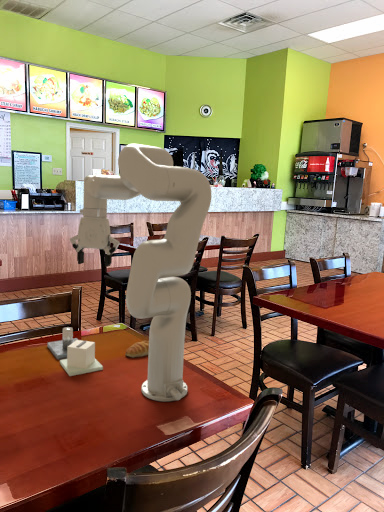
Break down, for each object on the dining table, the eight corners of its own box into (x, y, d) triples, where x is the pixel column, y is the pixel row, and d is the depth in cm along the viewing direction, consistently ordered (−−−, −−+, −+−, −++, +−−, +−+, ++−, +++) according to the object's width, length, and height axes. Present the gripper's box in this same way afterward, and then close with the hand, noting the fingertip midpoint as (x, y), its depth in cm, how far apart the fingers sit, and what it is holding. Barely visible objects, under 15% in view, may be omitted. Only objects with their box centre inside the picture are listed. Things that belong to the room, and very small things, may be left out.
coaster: (102, 369, 123) (102, 366, 122) (69, 376, 117) (69, 372, 117) (91, 357, 131) (91, 354, 131) (59, 363, 125) (59, 360, 125)
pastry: (133, 361, 131) (134, 349, 130) (120, 355, 135) (120, 344, 134) (155, 353, 138) (155, 342, 137) (141, 348, 142) (141, 337, 141)
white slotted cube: (85, 368, 120) (86, 348, 119) (67, 365, 121) (67, 345, 120) (94, 360, 126) (95, 341, 125) (76, 358, 127) (76, 338, 126)
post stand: (88, 354, 133) (88, 332, 132) (57, 359, 128) (57, 336, 127) (76, 342, 143) (77, 321, 142) (47, 346, 138) (47, 325, 137)
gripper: (65, 212, 132) (64, 264, 135) (115, 215, 129) (114, 269, 132) (76, 211, 140) (75, 261, 142) (124, 215, 136) (122, 265, 139)
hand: (94, 264), depth 137 cm, fingers open, 9 cm apart
